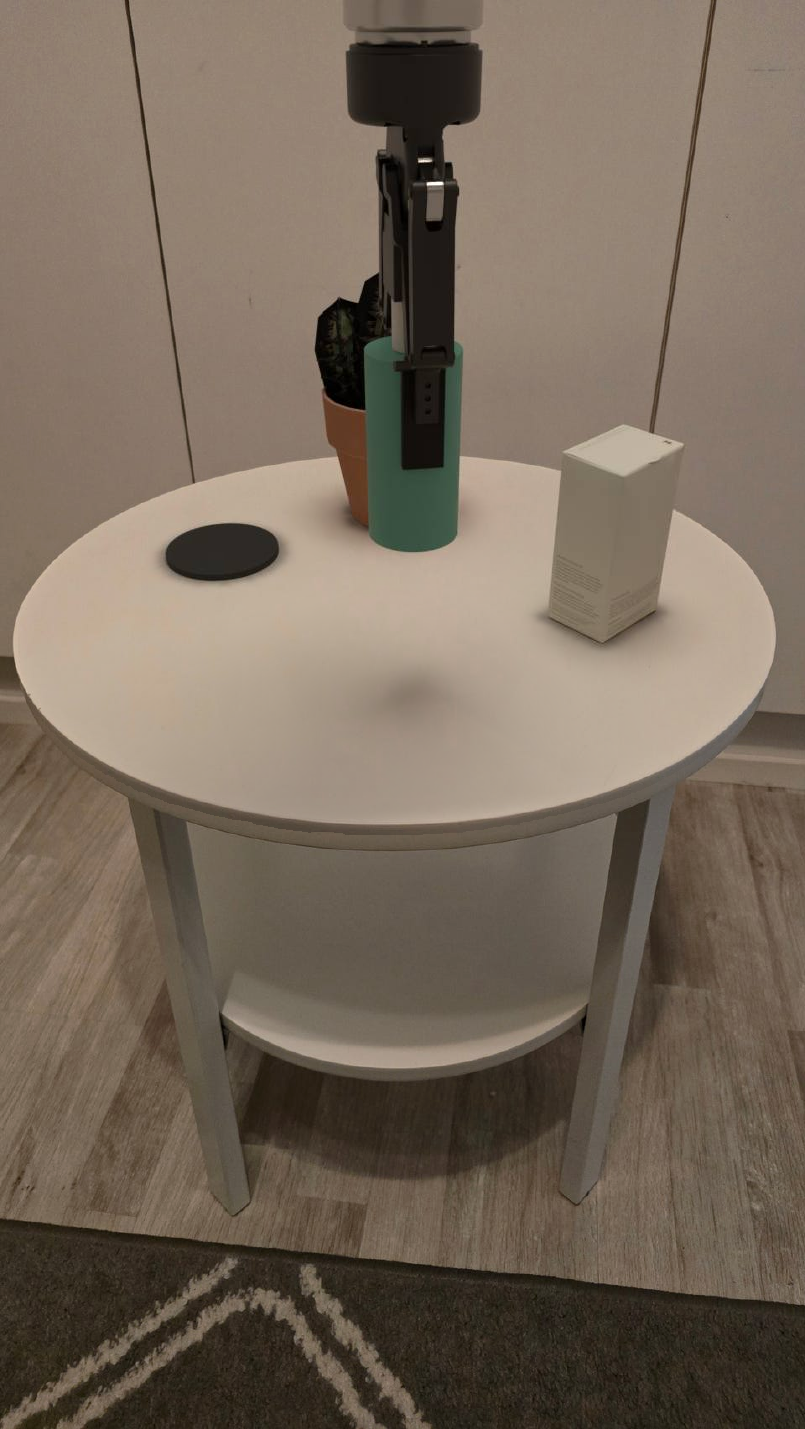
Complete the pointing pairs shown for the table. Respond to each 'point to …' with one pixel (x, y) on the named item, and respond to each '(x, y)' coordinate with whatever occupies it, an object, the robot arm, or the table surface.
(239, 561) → the black round coaster
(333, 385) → the potted plant
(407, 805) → the table surface
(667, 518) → the cosmetic box
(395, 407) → the spray bottle
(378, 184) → the robot arm
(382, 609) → the table surface
